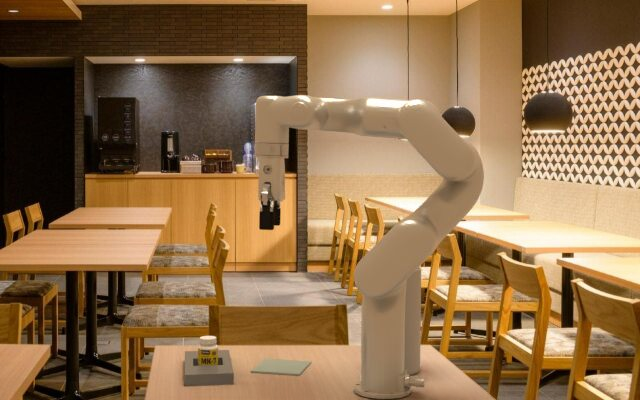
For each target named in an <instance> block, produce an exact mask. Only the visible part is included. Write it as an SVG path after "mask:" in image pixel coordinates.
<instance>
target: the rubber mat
mask: <svg viewBox="0 0 640 400" xmlns="http://www.w3.org/2000/svg"><path fill="white" fill-rule="evenodd" d="M310 365H312V361H311V360H310V361H309V360H296V359H295V360H294V359H277V358H264V359H263V360H262V361H260V362H259V363H258V364H256V365H255V366H254V367H253V368H252V369H251V370H250V373H254V374H268V375H270V374H271V375H282V376H283V375H284V376H296V377H297V376H298V377H299V376H301V375H302V374H303V373H304V371H306V369H308V367H309V366H310Z"/></svg>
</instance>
